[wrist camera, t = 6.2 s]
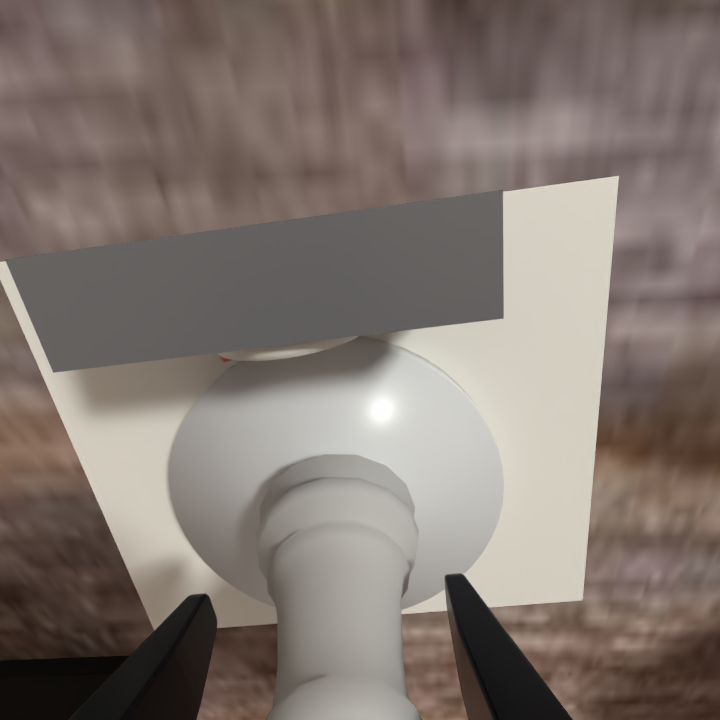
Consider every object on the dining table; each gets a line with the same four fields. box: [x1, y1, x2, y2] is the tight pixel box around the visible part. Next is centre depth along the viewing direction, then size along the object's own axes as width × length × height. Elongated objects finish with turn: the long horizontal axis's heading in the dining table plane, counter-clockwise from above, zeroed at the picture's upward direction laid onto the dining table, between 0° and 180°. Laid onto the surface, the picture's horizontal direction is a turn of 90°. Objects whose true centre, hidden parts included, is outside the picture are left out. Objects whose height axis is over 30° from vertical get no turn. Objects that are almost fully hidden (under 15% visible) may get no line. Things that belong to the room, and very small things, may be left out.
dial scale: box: [0, 176, 619, 631], centre depth 12 cm, size 16×14×7 cm
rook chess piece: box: [257, 454, 422, 720], centre depth 8 cm, size 4×4×8 cm
